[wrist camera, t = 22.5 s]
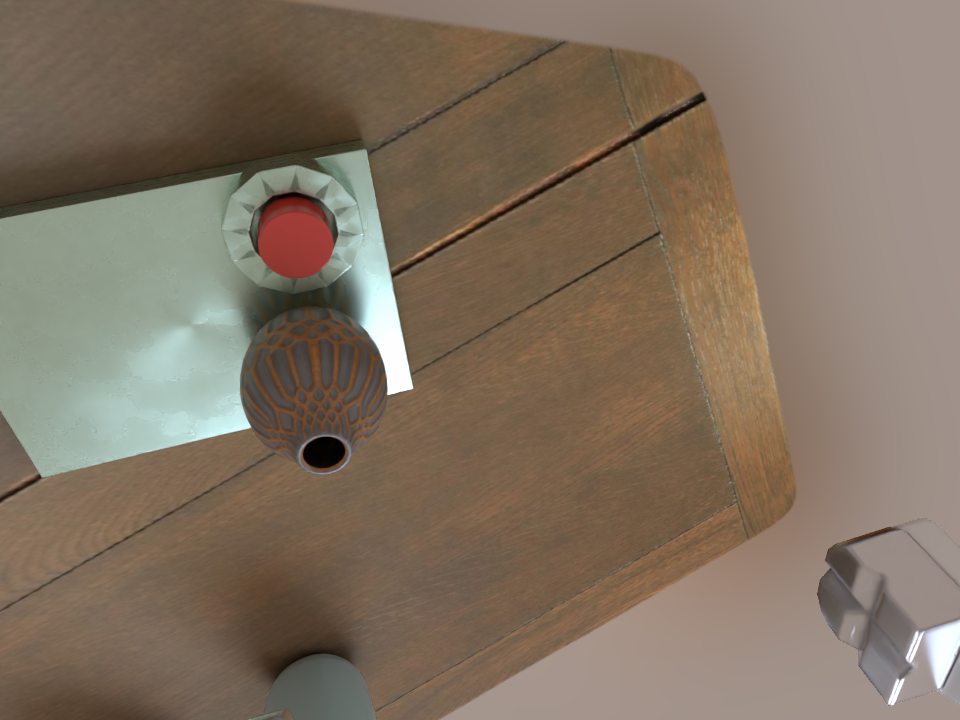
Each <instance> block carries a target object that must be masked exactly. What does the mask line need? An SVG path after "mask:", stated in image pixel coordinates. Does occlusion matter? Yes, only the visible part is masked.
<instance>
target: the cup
mask: <svg viewBox="0 0 960 720" xmlns="http://www.w3.org/2000/svg"><path fill="white" fill-rule="evenodd" d="M287 707H288V708H289V710H290V712H291V714H292V716H293V717H294V719H295V720H377V717H376V713H375V709H374V705H373V701H372V698H371V694H370V691H369V689H368V687H367V684H366V682H365V679H364V677H363V676H362V674H361V672H360V671H359V670H358V669H357V668H356V667H355V666H354V665H353V664H352V663H351V662H349V661H348V660H346V659H344V658H342V657H340V656H337V655H333V654H314V655H310V656H306V657H304V658H301V659H299V660H297V661H296V662H294V663H292V664H290V665H289V666H288V667H286V668H285V669H284V670H283V671H282V672H281V673H280V674H279V675H278V676H277V678H276V679H275V681H274V683H273V684H272V686H271V688H270V691H269V694H268V697H267V700H266V705H265V709H264V714H266V713H270V712H273V711H276V710H280V709H283V708H287Z"/></svg>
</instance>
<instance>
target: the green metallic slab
mask: <svg viewBox="0 0 960 720" xmlns="http://www.w3.org/2000/svg"><path fill="white" fill-rule="evenodd" d="M285 197H301V198H305V199H307V200H310V201H312V202H314V203H315V204H317V205H318V206H319V207H320V208H321V209H322V210H323V211H324V213H325V214H326V216H327V218H328V221H329V224H330V229H331V233H332V237H333V253H332V256H331V258H330V260H329V262H328V263H327V264H326V266H325V267H324V268H323V269H322V270H320V271H319V272H317V273H316V274H314V275H311V276H309V277H305V278H288V277H284V276H281V275H279V274H277V273H275V272H273V271H272V270H271V269H270V268H268V267H267V265H266V264H265V263H264V262H263V260H262V258H261V256H260V253H259V249H258V232H257V227H258V221H259V218H260V216H261V214H262V212H263V211H264V210H265V208H266V207H267V206H268V205H270V204H271V203H273V202H274V201H276V200H279V199H281V198H285ZM310 306H315V307H325V308H330V309H333V310H336V311H339V312H341V313H343V314H345V315H347V316H349V317H351V318H352V319H354V320H355V321H356V322H358V323H359V324H360V325H361V326H362V327H363V328H364V329H365V330H366V331H367V332H368V333H369V335H370V336H371V337H372V339H373V340H374V341H375V343H376V345H377V347H378V349H379V351H380V353H381V355H382V358H383V361H384V364H385V368H386V373H387V379H388V394H387V395H389V394H393V393H397V392H401V391H405V390H410V389H413V383H412V378H411V373H410V368H409V363H408V358H407V353H406V348H405V343H404V337H403V332H402V327H401V322H400V317H399V312H398V307H397V302H396V297H395V292H394V287H393V282H392V276H391V271H390V266H389V261H388V256H387V251H386V246H385V241H384V236H383V231H382V226H381V221H380V215H379V210H378V205H377V200H376V195H375V190H374V185H373V180H372V175H371V170H370V165H369V160H368V154H367V150H366V147H365V145H364V142H363V140H357V141H352V142H347V143H341V144H336V145H331V146H325V147H320V148H315V149H310V150H304V151H299V152H294V153H288V154H283V155H278V156H273V157H267V158H262V159H257V160H251V161H246V162H241V163H236V164H230V165H225V166H220V167H214V168H209V169H204V170H198V171H193V172H188V173H183V174H177V175H172V176H167V177H161V178H156V179H151V180H146V181H140V182H135V183H130V184H124V185H119V186H114V187H109V188H103V189H98V190H93V191H87V192H82V193H77V194H72V195H66V196H61V197H56V198H50V199H45V200H40V201H35V202H29V203H24V204H19V205H13V206H8V207H3V208H0V411H1V413H2V414H3V416H4V418H5V419H6V421H7V422H8V424H9V426H10V427H11V429H12V430H13V432H14V434H15V435H16V437H17V438H18V440H19V442H20V443H21V445H22V446H23V448H24V450H25V451H26V453H27V454H28V456H29V458H30V459H31V461H32V462H33V464H34V466H35V467H36V469H37V470H38V472H39V474H40V475H41V477H42V478H44V477H48V476H52V475H57V474H61V473H65V472H69V471H73V470H77V469H81V468H86V467H90V466H94V465H98V464H102V463H106V462H111V461H115V460H119V459H123V458H127V457H131V456H135V455H140V454H144V453H148V452H152V451H156V450H160V449H165V448H169V447H173V446H177V445H181V444H185V443H189V442H194V441H198V440H202V439H206V438H210V437H214V436H219V435H223V434H227V433H231V432H235V431H239V430H243V429H248V428H251V426H250V424H249V422H248V420H247V418H246V415H245V413H244V410H243V406H242V402H241V397H240V374H241V368H242V363H243V359H244V356H245V354H246V351H247V349H248V347H249V345H250V343H251V341H252V340H253V338H254V337H255V336H256V334H257V333H258V332H259V330H260V329H261V328H262V327H263V326H265V325H266V324H267V323H268V322H269V321H270V320H272V319H273V318H275V317H276V316H278V315H280V314H282V313H284V312H286V311H289V310H292V309H296V308H301V307H310Z"/></svg>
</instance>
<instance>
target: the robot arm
mask: <svg viewBox="0 0 960 720" xmlns="http://www.w3.org/2000/svg"><path fill="white" fill-rule="evenodd" d="M825 561H826V562H827V563H828V565H829V566H830V567H831V568H830V569H829V571H827V573H826V574H825V575H824V576H823V577H822V578H821V579H820V583H819V588H818V593H817V595H818V599H819V603H820V608H821V611H822V613H823V615H824V617H825V619H826V621H827V623H828V625H829V626H830V628H831V629H832V631H833V632H834V633H835V635H836V636H837V638H838V639H839V640H841V641H843V642H844V643H846V644H848V645H850V646H852V647H854V648H856V649H858V663H859V667H860V668H861V670H862V671H863V672H864V674H865V675H866V676H867V677H868V679H869V680H870V682H871V683H872V684H873V685H874V687H875V688H876V689H877V691H878V692H879V693H880V695H881V696H882V697H883V699H884V700H885V701H886V702H887V704H888V705H889V706H890V705H893V704H897V703H900V702H903V701H907V700H910V699H913V698H917V697H920V696H923V695H926V694H930V693H933V692H936V691H939V690H942V692H941V694H943V695H945V696H946V697H947V698H949V699H950V700H952V701H954V702H955V703H957V704H958V705H960V546H959V545H958V544H957V543H956V542H955V541H954V540H953V539H952V538H951V537H950V536H949V535H948V534H947V533H945V531H943V530H942V529H941V528H940V527H939V526H938V525H937V524H936V523H934V522H932V521H931V520H928V519H926V518H924V519H916V520H912V521H909V522H906V523H903V524H899V525H896V526H893V527H887V528H884V529H881V530H878V531H875V532H872V533H869V534H865V535H862V536H859V537H856V538H853V539H850V540H847V541H844V542H841V543H837V544H835V545H833V546H832V547H831V548H829V549H828V552H827V556H826V559H825ZM246 720H295V719H294V717H293V716H292V714H291V712H290V710H289V708H288V707H287V708H283V709H280V710H276V711H273V712H270V713H266V714H263V715H260V716H256V717H253V718H250V719H246Z"/></svg>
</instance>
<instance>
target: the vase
mask: <svg viewBox="0 0 960 720" xmlns="http://www.w3.org/2000/svg"><path fill="white" fill-rule="evenodd" d="M387 394H388V379H387V373H386V368H385V364H384V361H383V358H382V355H381V353H380V351H379V349H378V347H377V345H376V343H375V341H374V340H373V339H372V337H371V336H370V335H369V333H368V332H367V331H366V330H365V329H364V328H363V327H362V326H361V325H360V324H359V323H358V322H356V321H355V320H354V319H352V318H351V317H349V316H347V315H345V314H343V313H341V312H339V311H336V310H333V309H330V308H325V307H315V306H310V307H301V308H296V309H292V310H289V311H286V312H284V313H282V314H280V315H278V316H276V317H275V318H273V319H272V320H270V321H269V322H268V323H267V324H266V325H265V326H263V327H262V328H261V329H260V330H259V332H258V333H257V334H256V336H255V337H254V338H253V340H252V341H251V343H250V345H249V347H248V349H247V351H246V354H245V356H244V359H243V363H242V368H241V374H240V397H241V402H242V406H243V410H244V413H245V415H246V418H247V420H248V422H249V424H250V426H251V428H252V429H253V431H254V432H255V434H256V435H257V437H258V438H259V439H260V440H261V441H262V442H263V443H264V445H266V446H267V447H268V448H269V449H270V450H272V451H273V452H274V453H276V454H277V455H279V456H281V457H283V458H285V459H288V460H290V461H293V462H296V463H297V464H298V465H299V466H300V467H301V468H302V469H304V470H305V471H307V472H309V473H313V474H319V475H323V474H330V473H333V472H336V471H338V470H340V469H341V468H343V467H344V466H345V465H346V464H347V463H348V462H349V460H350V459H351V457H352V455H353V454H354V453H355V452H356V451H358V450H359V449H360V448H361V447H362V446H364V445H365V444H366V443H367V442H368V441H369V439H370V438H371V437H372V436H373V434H374V433H375V431H376V430H377V428H378V426H379V424H380V422H381V420H382V417H383V414H384V411H385V407H386V402H387Z"/></svg>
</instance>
